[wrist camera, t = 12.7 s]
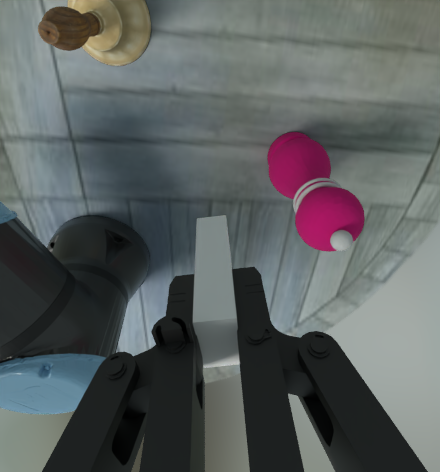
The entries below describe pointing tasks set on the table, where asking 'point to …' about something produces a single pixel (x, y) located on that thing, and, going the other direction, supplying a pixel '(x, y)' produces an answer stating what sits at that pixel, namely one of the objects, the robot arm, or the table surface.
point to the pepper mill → (314, 193)
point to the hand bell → (100, 29)
